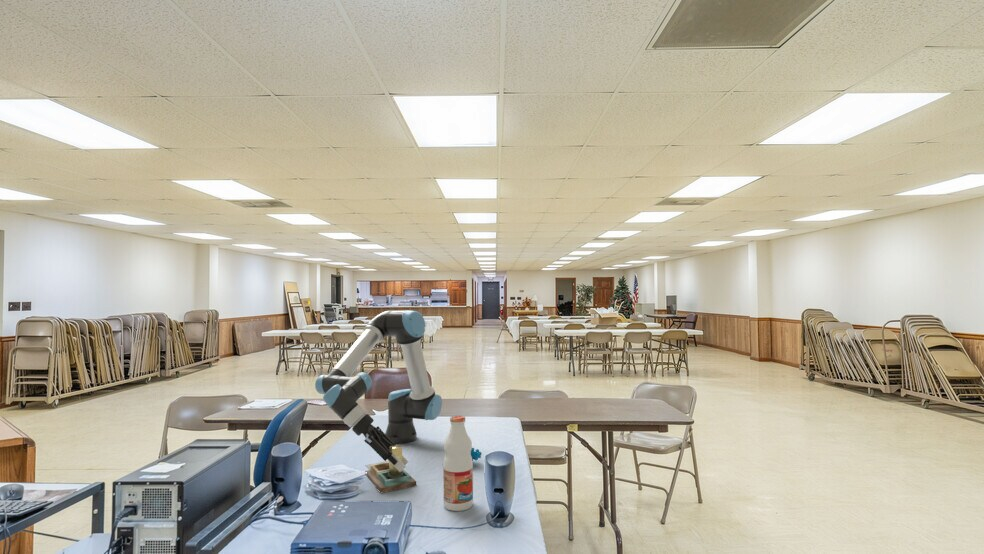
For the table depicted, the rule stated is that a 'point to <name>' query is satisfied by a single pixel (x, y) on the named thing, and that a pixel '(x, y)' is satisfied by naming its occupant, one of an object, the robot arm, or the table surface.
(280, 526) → the table surface
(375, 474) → the brown wooden flat tray
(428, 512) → the table surface
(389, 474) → the gold metal cylinder
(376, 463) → the mat
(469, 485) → the fruit juice
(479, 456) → the gear
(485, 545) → the table surface
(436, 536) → the table surface
